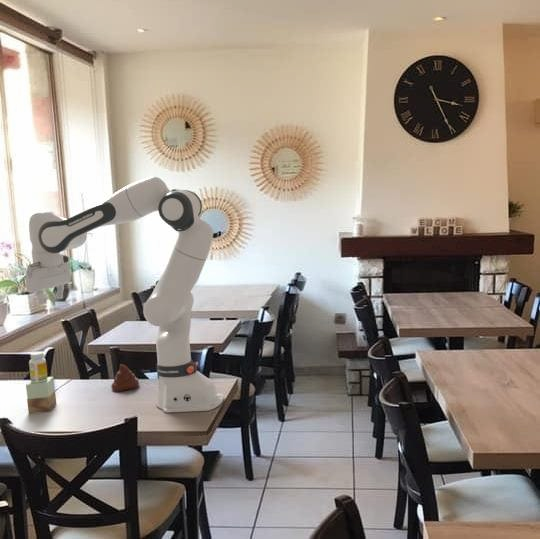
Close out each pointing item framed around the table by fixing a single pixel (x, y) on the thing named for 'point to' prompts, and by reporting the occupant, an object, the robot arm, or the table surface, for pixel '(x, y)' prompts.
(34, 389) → the tower top
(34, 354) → the supplement bottle
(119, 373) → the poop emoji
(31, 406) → the tower base
